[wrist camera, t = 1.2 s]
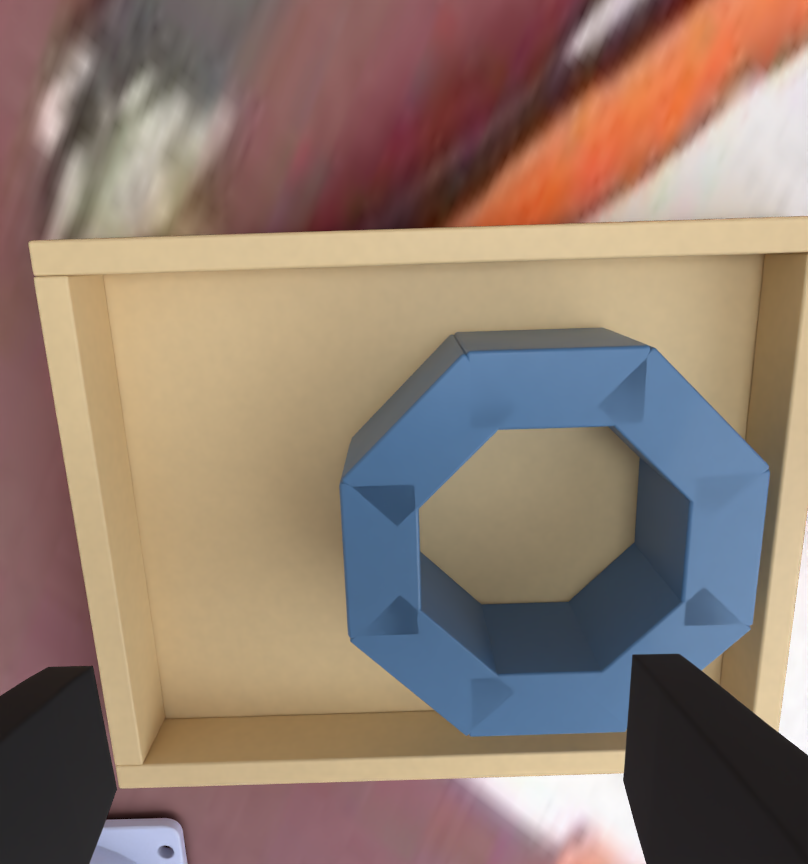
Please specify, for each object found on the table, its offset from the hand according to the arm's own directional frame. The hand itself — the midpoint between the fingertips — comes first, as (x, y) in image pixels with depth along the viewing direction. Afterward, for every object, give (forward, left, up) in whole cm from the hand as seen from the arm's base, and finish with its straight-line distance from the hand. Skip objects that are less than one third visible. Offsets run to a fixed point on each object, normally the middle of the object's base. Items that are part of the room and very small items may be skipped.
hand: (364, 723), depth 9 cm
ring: (-1, -4, -10) cm, 11 cm away
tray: (-1, -2, -11) cm, 11 cm away
